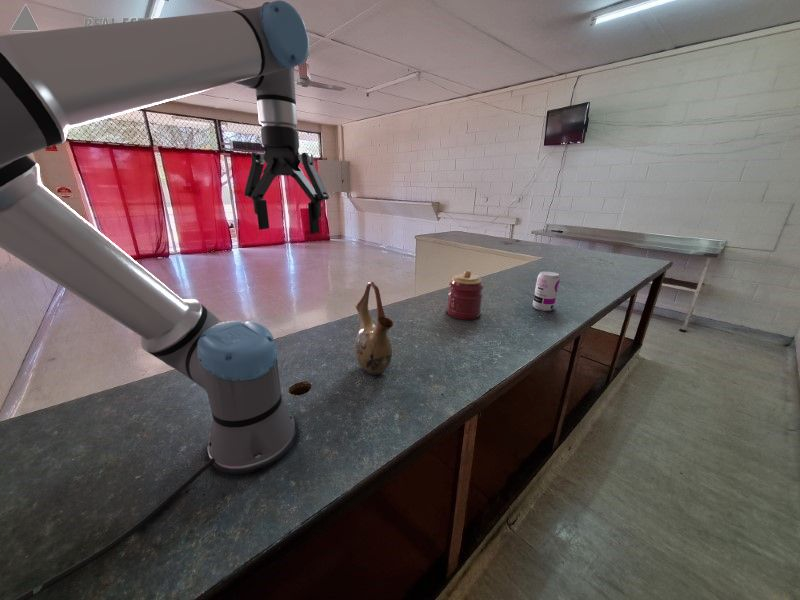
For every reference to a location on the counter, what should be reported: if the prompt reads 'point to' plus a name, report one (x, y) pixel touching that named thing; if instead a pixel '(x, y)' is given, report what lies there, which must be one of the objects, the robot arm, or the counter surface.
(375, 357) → the ceramic vessel
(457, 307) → the kitchen canister
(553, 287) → the supplement can
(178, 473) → the counter surface
